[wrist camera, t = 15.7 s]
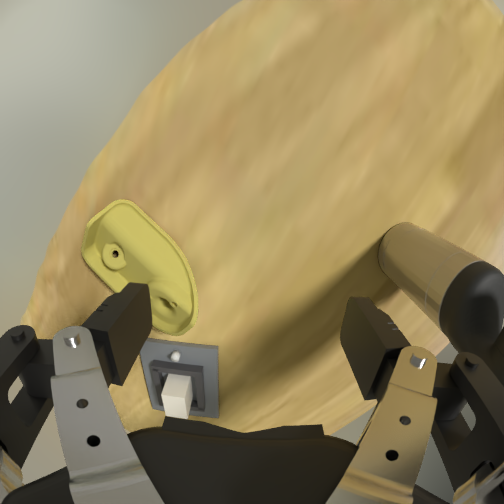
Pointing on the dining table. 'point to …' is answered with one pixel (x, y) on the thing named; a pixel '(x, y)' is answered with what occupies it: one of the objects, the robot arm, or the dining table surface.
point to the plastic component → (142, 263)
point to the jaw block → (177, 396)
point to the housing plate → (183, 372)
